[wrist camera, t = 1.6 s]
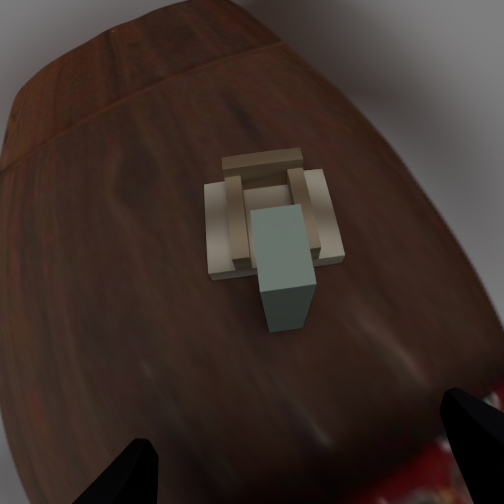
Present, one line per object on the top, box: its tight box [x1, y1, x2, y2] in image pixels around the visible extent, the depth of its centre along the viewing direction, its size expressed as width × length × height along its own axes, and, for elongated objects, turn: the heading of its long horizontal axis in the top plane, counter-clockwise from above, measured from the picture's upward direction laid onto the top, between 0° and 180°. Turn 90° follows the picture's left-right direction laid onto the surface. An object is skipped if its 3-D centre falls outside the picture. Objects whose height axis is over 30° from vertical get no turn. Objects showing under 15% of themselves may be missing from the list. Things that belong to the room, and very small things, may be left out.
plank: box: [250, 204, 316, 332], centre depth 19 cm, size 4×2×10 cm, turn 6°
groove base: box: [204, 148, 345, 280], centre depth 24 cm, size 8×10×4 cm
